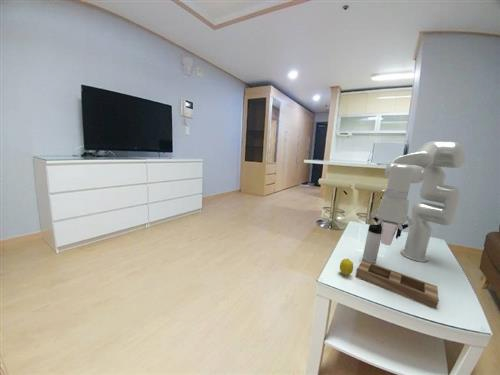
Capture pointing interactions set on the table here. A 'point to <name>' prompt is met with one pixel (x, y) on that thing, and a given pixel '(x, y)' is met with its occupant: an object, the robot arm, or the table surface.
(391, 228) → the smoothie
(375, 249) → the travel mug
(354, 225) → the table surface
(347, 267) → the lemon
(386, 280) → the wooden frame
